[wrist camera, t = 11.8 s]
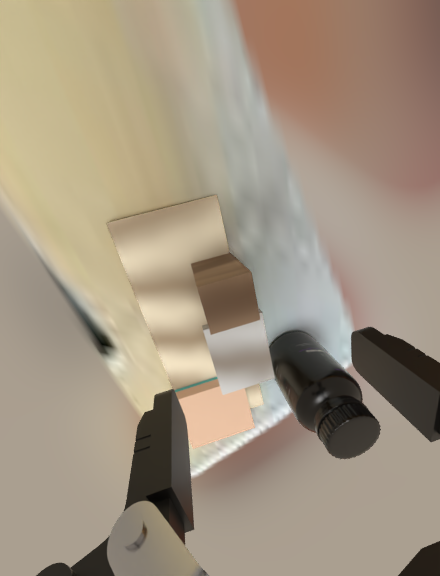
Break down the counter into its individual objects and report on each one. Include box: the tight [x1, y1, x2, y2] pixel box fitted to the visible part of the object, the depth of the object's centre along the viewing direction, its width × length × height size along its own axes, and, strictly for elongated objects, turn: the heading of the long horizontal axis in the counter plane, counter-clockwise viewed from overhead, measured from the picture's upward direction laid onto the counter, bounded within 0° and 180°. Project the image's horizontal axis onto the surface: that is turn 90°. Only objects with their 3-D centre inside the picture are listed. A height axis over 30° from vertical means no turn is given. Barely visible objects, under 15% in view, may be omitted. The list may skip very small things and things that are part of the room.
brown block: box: [191, 253, 275, 395], centre depth 22 cm, size 11×5×7 cm, turn 13°
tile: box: [174, 377, 255, 449], centre depth 29 cm, size 2×8×8 cm
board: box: [106, 195, 264, 409], centre depth 26 cm, size 26×10×1 cm, turn 13°
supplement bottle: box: [269, 332, 381, 459], centre depth 25 cm, size 7×7×12 cm
